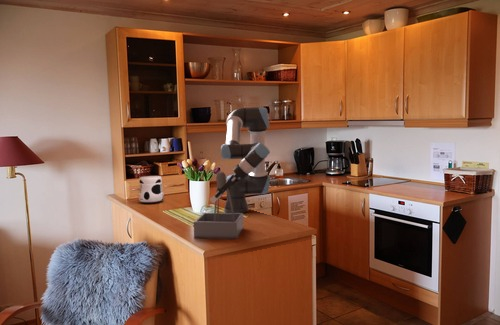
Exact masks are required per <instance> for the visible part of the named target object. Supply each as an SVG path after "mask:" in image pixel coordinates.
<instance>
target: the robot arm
mask: <svg viewBox="0 0 500 325" xmlns="http://www.w3.org/2000/svg"><path fill="white" fill-rule="evenodd" d="M225 125H226V129H227V130H226V138H225V143H224V144H221V146H220V153H221V154H220V156H221V159H224V160H240V161H239V163H238V164H236V165H235V166H234V168H233V172H234V173H233V174H230V175H227V176H226V183H225V185H224V186H223V187H222V188H221V189H222V190H223V191H222V190H221V189H218V191H217V192H215V193H214V195H213V196H211V197H210V199H209V201H210V202H211V203H212V204H214V205H215V202H216V201H217V202H218V199H219V200H220V198H221V195H222V194H223V195H224V194H225V193H226V201H225V205H224V207H223V208H224V210H223V211H224V212H223V213H232V211H231V206H230V201H229V197H228V194H227V191H226V190H227V189H229V193H230V197H231V201H232V206H233V213H243V214H244V213H247V212H249V205H248V202H247V200H246V195H266V194H268V192H269V190H270V189H269V188H270V179H271V178H270V177H271V176H270V175H269V174H268V172H267V170H266V163H265V162H266V161H265V160H266V159H267V158H268V156H269V155H270V153H271V151H270V149H269V147H267V146H266V144H265V136H266V135H265V133H266V132H267V131H268V128H270V121H269V113H268V109H267V108H266V107H260V106H255V107H253V106H252V107H238V108H236V109H235V110H232V112H231V113H229V115H228V116H227V118H226V121H225ZM242 128H247V131H248V133H250V134H249V136H250V138H249V139H250V143H241V133H242V132H241V129H242ZM223 195H222V196H223Z"/></svg>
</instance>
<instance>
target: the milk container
mask: <svg viewBox="0 0 500 325" xmlns="http://www.w3.org/2000/svg"><path fill="white" fill-rule="evenodd" d="M138 181H139V182H138V184H139V191H138V192H139V193H138V200H139V202H140V203H142V204H157V203H160V202H161V203H162V202H163V201H164V198H165V193H164V191H163V190H164V189H163V178H162V176H161V175H144V176H140V177H139V180H138Z"/></svg>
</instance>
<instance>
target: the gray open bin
mask: <svg viewBox="0 0 500 325" xmlns="http://www.w3.org/2000/svg"><path fill="white" fill-rule="evenodd" d="M234 221H235V222H233V218H232V213H226V212H219V222H217V212H216V221H215V222H214V212H203V213H202V214H200V215H199V217H197V218H196V219H195V220H194V221H193V239H210V240H211V239H217V240H218V239H220V240H221V239H222V240H238V238H239V237H240V235H241V233H242V231H243V230H244V213H234Z"/></svg>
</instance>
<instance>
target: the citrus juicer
mask: <svg viewBox="0 0 500 325" xmlns="http://www.w3.org/2000/svg"><path fill="white" fill-rule="evenodd" d="M215 176H216V178H215V182H216V186H217V187H216V192H217V191H218V189H221V188H222V187H223V186H224V185H225V184H226V183H227V175H226V173H225V172H224V171H218V172H217V173H216V175H215ZM221 190H222V189H221ZM222 191H223V190H222ZM216 192H215V193H216ZM227 194H228V197H229V201H230V206H231V211H232V218H233V222H235V221H234V213H233V206H232V201H231V197H230V193H229V189H227V190H226V195H227ZM223 195H224V194H222V195H221V197H220V198H221V199H222V198H223ZM220 198H219V199H218V200H217V201H216V202H215V203H214V211H213V213H214V222H215V221H216V213H217V222H219V213H220V212H219V210H220V209H219V208H220Z"/></svg>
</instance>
